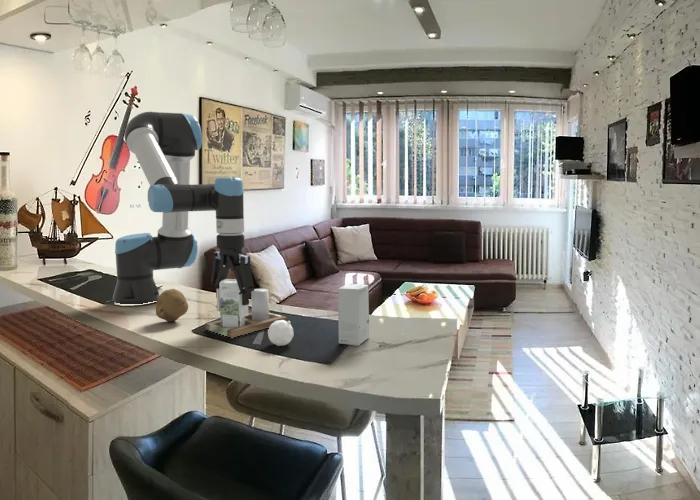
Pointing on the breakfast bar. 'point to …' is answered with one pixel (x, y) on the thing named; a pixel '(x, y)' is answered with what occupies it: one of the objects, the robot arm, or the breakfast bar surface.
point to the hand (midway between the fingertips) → (232, 313)
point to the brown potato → (171, 305)
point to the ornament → (280, 332)
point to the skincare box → (353, 314)
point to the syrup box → (230, 304)
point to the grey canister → (260, 304)
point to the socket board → (248, 328)
